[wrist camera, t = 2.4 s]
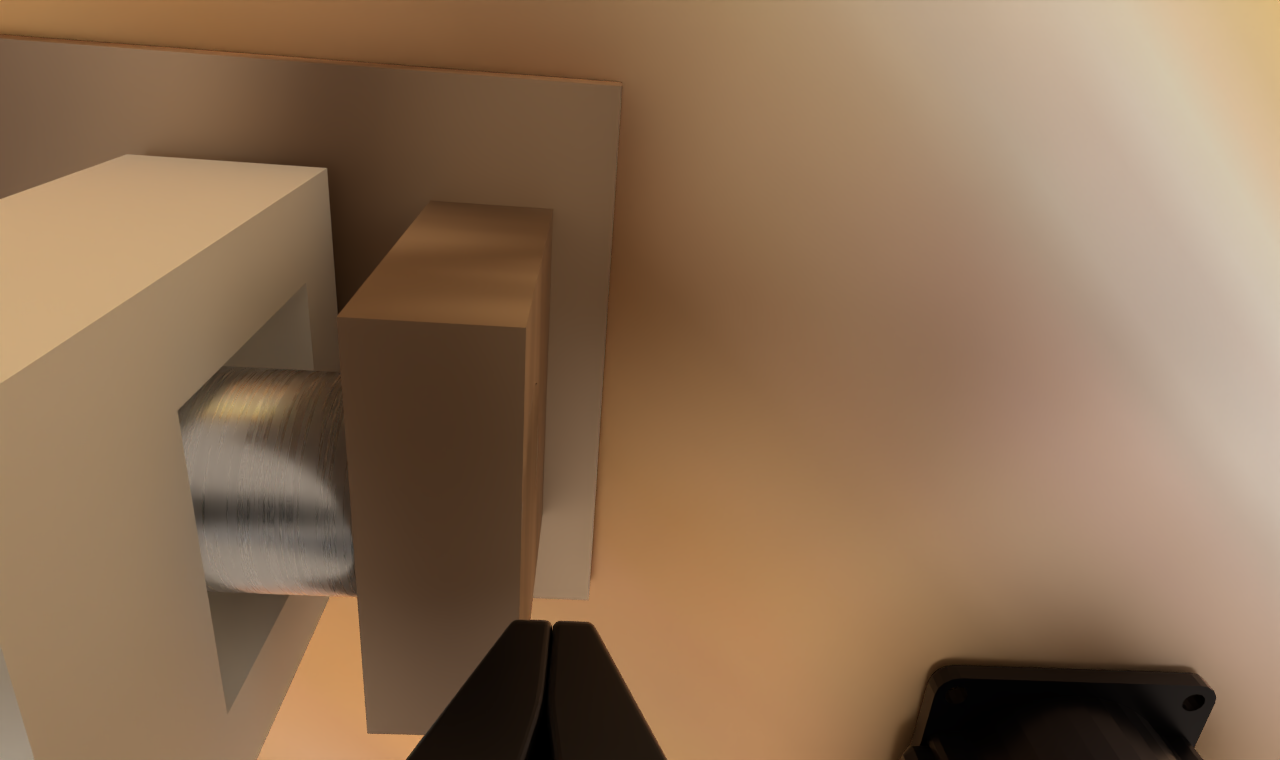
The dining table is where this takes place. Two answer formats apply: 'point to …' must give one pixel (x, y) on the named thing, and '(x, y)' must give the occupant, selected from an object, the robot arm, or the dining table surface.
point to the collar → (143, 450)
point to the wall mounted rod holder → (403, 306)
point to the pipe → (271, 482)
